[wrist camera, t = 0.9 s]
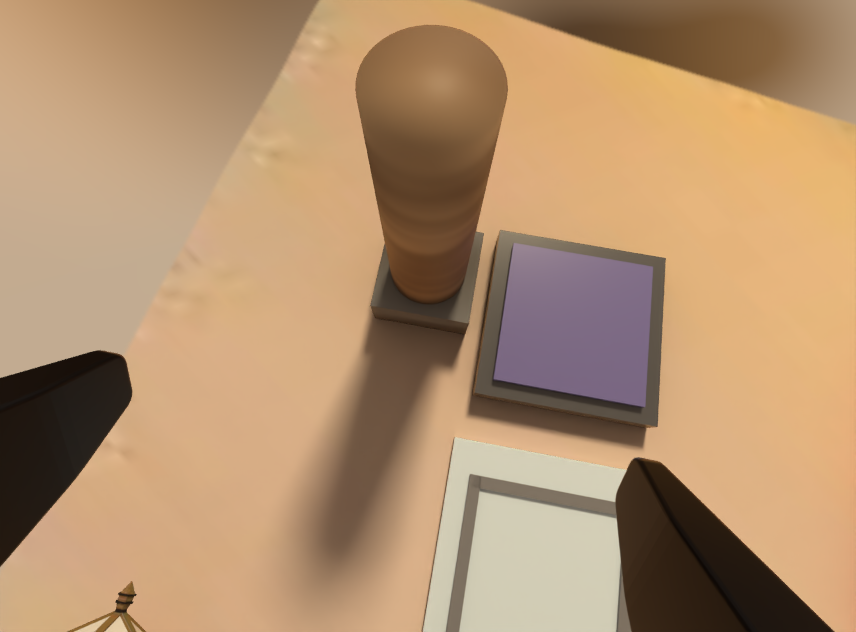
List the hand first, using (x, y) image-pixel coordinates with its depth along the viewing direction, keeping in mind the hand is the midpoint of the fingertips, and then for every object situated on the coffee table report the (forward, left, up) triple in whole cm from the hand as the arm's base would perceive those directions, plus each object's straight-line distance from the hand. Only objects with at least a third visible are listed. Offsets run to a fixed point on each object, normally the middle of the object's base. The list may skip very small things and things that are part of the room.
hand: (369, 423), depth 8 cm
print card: (-4, -7, -13) cm, 16 cm away
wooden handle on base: (+7, 0, -13) cm, 15 cm away
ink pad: (+6, -7, -13) cm, 16 cm away
